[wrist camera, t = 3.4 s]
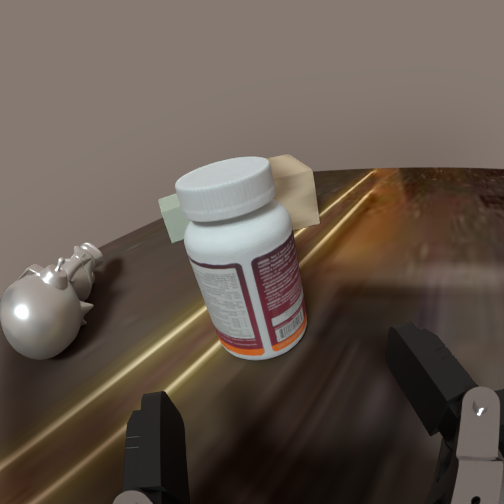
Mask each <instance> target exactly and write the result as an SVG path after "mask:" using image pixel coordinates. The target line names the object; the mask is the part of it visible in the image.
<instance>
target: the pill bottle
mask: <svg viewBox="0 0 504 504" xmlns="http://www.w3.org/2000/svg"><path fill="white" fill-rule="evenodd" d="M175 189H176V192H177V196H178V199H179V202H180V207H181V211H182V214H183V216H184V217H185V218H186V219H188V220H191V221H190V223H189V224H188V226H187V228H186V230H185V234H184V243H185V247H186V251H187V254H188V256H189V259H190V262H191V265H192V268H193V270H194V273H195V276H196V279H197V281H198V284H199V287H200V290H201V292H202V295H203V298H204V301H205V303H206V306H207V309H208V311H209V314H210V317H211V320H212V322H213V325H214V327H215V330H216V332H217V335H218V337H219V340H220V342H221V344H222V345H223V347H224V348H225V349H226V350H227V351H228V352H230V353H231V354H233V355H234V356H237V357H239V358H243V359H248V360H264V359H269V358H273V357H276V356H279V355H282V354H284V353H285V352H287V351H289V350H290V349H291V348H293V347H294V346H295V345H296V344H297V343H298V342H299V340H300V339H301V338H302V336H303V334H304V332H305V329H306V325H307V315H306V308H305V302H304V296H303V288H302V283H301V276H300V270H299V264H298V257H297V252H296V246H295V239H294V233H293V227H292V222H291V218H290V215H289V213H288V211H287V209H286V208H285V207H284V206H283V205H282V204H281V203H280V202H278V201H276V200H274V199H273V198H274V197H275V195H276V187H275V183H274V179H273V174H272V169H271V165H270V162H269V161H268V160H267V159H265V158H261V157H240V158H233V159H228V160H223V161H220V162H215V163H212V164H209V165H206V166H203V167H200V168H198V169H196V170H194V171H191V172H189V173H188V174H186V175H184V176H183V177H181V178H180V179H179V180H178V181H177V182H176V184H175Z"/></svg>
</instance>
